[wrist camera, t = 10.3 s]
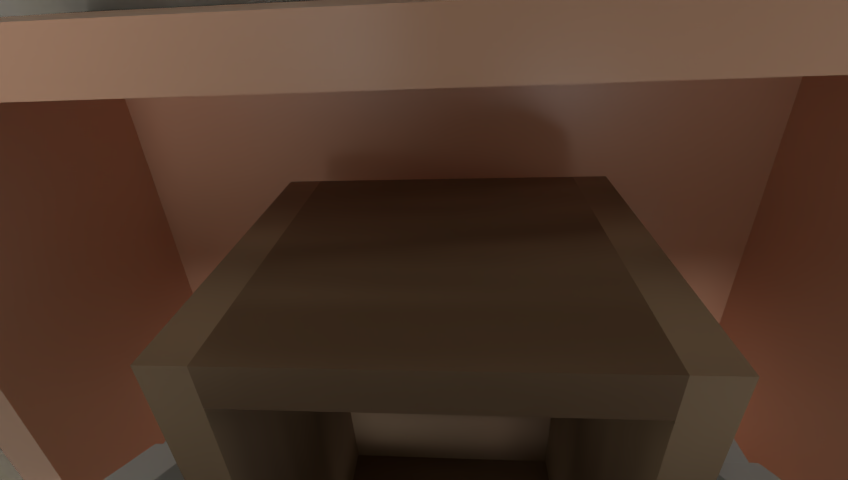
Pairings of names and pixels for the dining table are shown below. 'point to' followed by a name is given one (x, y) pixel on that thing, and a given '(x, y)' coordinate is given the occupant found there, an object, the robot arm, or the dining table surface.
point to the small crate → (446, 342)
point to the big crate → (414, 175)
